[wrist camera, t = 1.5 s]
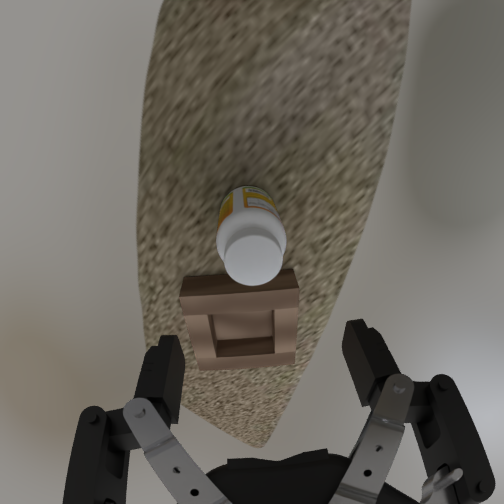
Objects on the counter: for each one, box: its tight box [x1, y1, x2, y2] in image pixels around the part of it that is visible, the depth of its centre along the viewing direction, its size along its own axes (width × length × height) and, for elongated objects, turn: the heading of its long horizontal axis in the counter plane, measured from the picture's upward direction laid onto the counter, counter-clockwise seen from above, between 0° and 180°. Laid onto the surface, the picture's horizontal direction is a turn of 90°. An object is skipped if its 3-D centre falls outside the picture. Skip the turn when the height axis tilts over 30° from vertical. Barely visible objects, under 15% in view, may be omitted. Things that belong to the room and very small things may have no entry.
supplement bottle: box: [216, 186, 286, 286], centre depth 23 cm, size 5×5×10 cm
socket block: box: [179, 269, 299, 371], centre depth 32 cm, size 12×12×4 cm
